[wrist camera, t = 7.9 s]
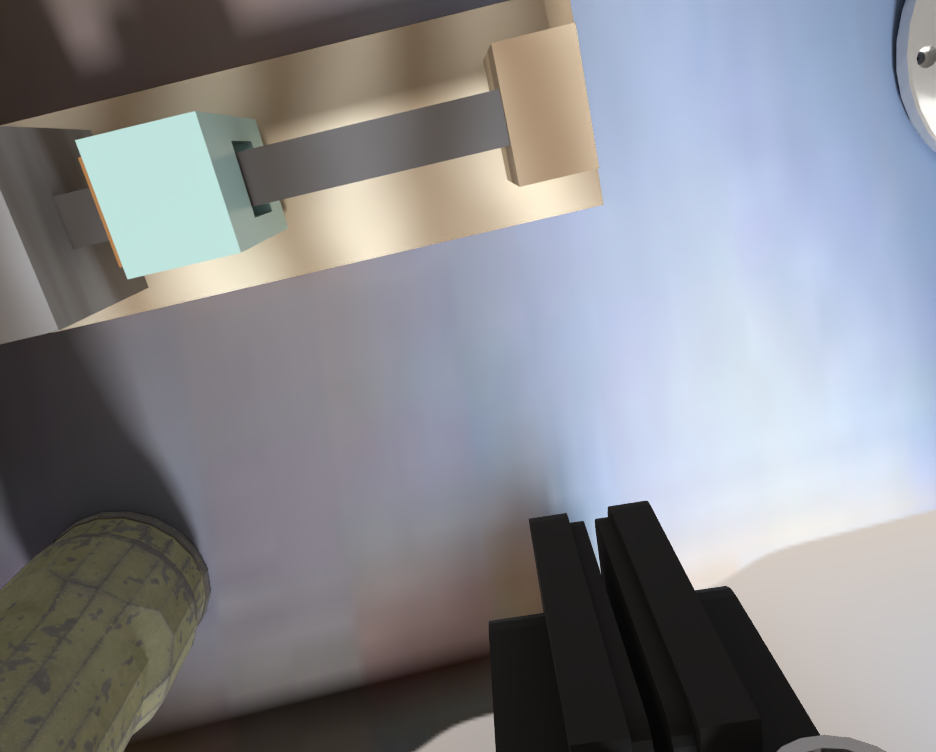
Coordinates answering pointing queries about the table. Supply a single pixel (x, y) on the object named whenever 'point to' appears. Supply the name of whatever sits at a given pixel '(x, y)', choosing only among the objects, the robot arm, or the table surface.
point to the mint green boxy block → (178, 191)
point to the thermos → (97, 633)
